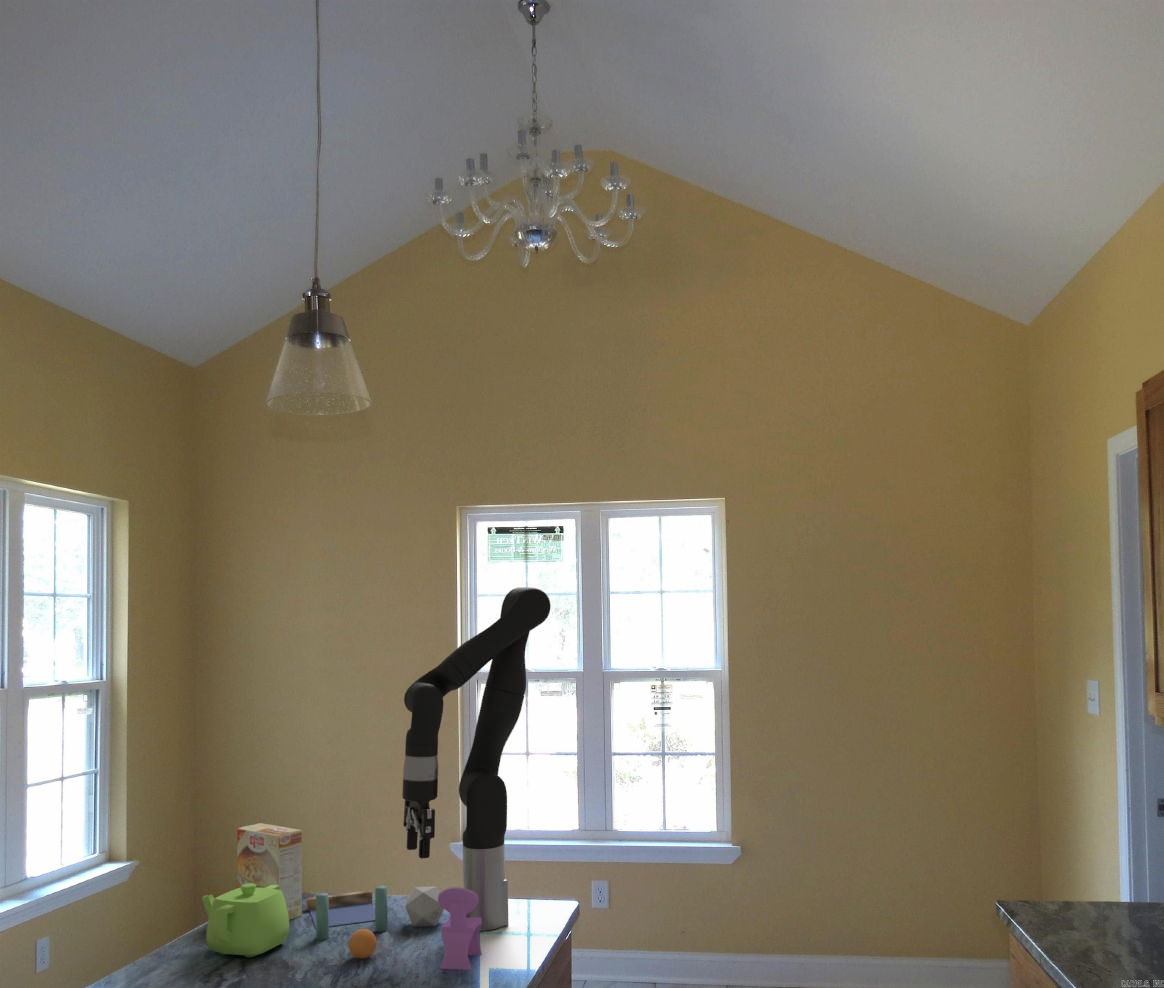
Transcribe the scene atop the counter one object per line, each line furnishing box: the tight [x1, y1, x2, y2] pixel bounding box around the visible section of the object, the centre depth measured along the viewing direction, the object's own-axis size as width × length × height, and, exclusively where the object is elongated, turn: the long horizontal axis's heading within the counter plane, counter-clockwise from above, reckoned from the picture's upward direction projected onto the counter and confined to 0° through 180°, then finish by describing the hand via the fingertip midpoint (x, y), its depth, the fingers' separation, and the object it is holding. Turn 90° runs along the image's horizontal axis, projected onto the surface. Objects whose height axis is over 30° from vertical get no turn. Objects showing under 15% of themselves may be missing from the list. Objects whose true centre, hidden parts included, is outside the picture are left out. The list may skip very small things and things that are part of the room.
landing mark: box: [309, 902, 375, 929], centre depth 236 cm, size 14×14×1 cm
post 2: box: [374, 885, 388, 933], centre depth 226 cm, size 3×3×9 cm
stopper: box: [306, 889, 373, 912], centre depth 244 cm, size 15×2×2 cm, turn 110°
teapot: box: [201, 883, 290, 958], centre depth 217 cm, size 18×20×13 cm
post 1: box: [315, 892, 330, 941], centre depth 221 cm, size 3×3×9 cm
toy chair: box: [438, 886, 483, 971], centre depth 206 cm, size 8×9×15 cm
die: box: [404, 886, 445, 928], centre depth 229 cm, size 8×9×10 cm
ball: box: [348, 928, 378, 960], centre depth 208 cm, size 6×6×6 cm
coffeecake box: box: [236, 822, 303, 921], centre depth 239 cm, size 15×7×20 cm, turn 55°
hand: (417, 853), depth 222 cm, fingers open, 8 cm apart
